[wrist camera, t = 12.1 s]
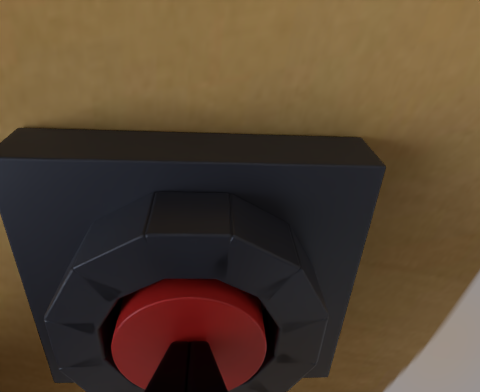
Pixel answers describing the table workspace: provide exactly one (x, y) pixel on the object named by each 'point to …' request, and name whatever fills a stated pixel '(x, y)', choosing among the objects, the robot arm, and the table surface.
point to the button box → (186, 236)
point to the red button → (189, 328)
